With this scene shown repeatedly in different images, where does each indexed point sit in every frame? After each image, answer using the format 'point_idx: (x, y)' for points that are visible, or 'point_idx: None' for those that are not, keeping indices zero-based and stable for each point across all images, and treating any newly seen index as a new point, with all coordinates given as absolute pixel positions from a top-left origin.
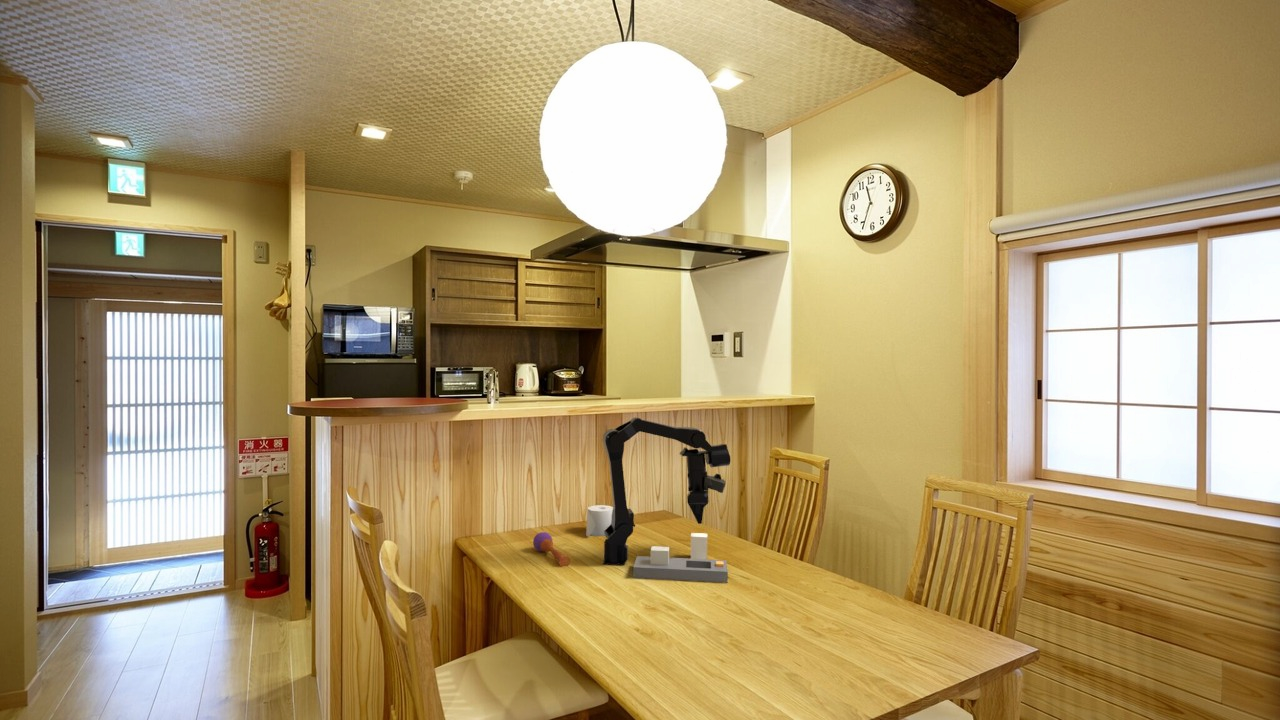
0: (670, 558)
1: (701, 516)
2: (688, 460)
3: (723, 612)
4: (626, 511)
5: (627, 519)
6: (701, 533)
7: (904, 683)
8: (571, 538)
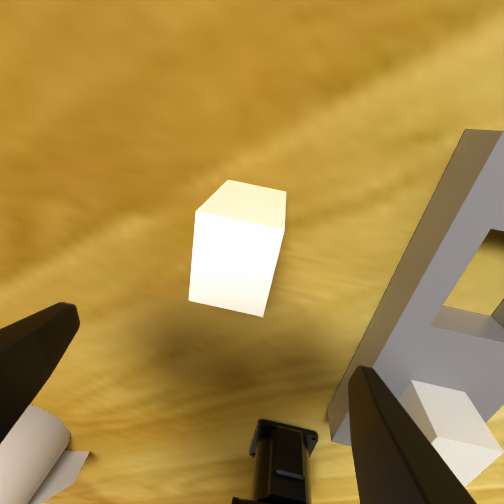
0: (383, 370)
1: (430, 458)
2: None
3: None
4: None
5: None
6: (194, 246)
7: None
8: (104, 473)
